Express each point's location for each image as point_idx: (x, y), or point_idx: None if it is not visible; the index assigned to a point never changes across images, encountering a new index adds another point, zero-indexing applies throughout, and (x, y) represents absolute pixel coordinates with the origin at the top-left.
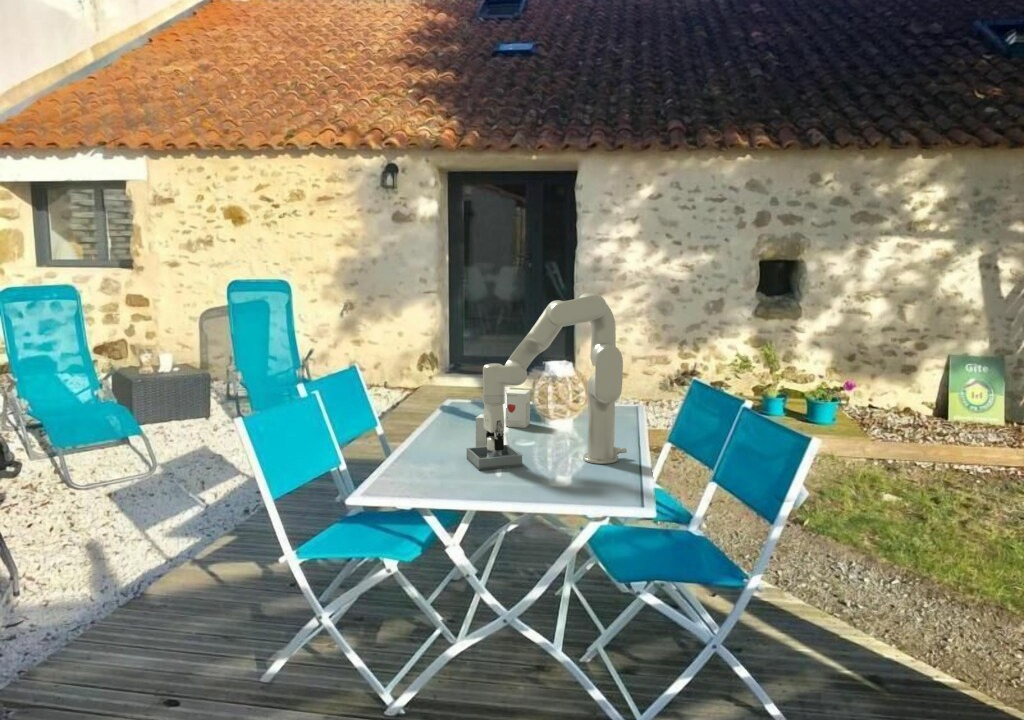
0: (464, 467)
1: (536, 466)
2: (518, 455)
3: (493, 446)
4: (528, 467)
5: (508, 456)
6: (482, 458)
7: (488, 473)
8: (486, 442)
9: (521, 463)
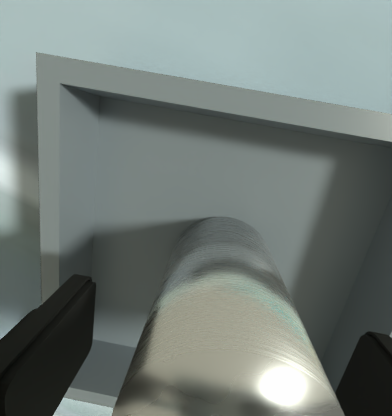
0: (219, 9)
1: None
2: None
3: (151, 309)
4: None
5: None
6: (52, 101)
7: (15, 110)
8: (388, 340)
9: None
